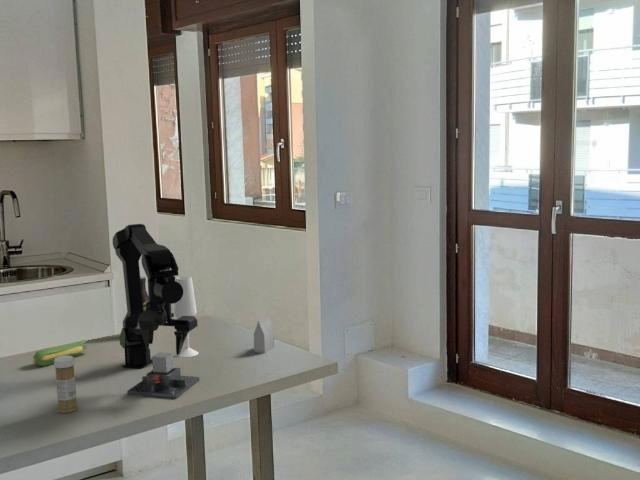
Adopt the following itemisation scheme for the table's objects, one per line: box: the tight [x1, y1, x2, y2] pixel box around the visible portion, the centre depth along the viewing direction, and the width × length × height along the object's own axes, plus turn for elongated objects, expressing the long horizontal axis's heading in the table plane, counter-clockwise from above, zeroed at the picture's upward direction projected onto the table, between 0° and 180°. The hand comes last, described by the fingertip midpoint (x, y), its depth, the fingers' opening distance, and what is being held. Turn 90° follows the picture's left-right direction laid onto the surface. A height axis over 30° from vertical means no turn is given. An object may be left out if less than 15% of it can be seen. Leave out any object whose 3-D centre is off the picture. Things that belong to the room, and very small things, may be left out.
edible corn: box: [32, 339, 88, 367], centre depth 217 cm, size 5×20×5 cm
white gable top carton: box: [253, 316, 275, 354], centre depth 223 cm, size 4×7×10 cm, turn 158°
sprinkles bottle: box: [53, 356, 78, 414], centre depth 175 cm, size 5×5×14 cm
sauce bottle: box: [140, 276, 149, 311], centre depth 242 cm, size 6×6×20 cm
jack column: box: [151, 351, 175, 375], centre depth 190 cm, size 4×4×8 cm
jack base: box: [126, 367, 200, 399], centre depth 191 cm, size 14×14×4 cm
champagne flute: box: [174, 275, 199, 358], centre depth 219 cm, size 7×7×24 cm
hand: (162, 353), depth 190 cm, fingers open, 9 cm apart
